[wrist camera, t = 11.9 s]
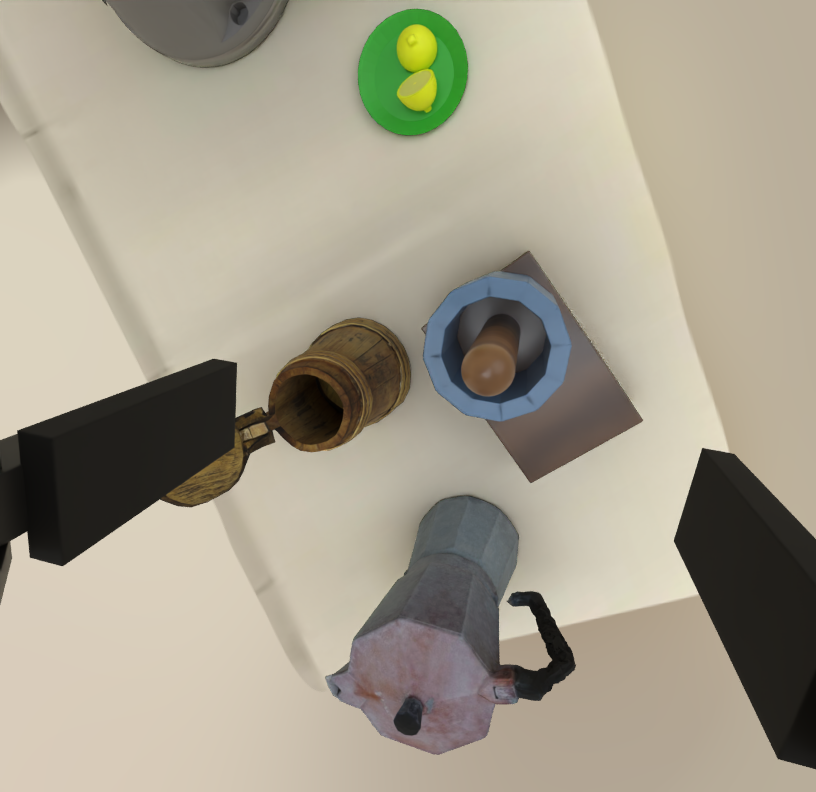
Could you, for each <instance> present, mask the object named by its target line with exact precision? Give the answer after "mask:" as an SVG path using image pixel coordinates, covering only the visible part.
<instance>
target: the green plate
mask: <svg viewBox="0 0 816 792" xmlns="http://www.w3.org/2000/svg"><path fill="white" fill-rule="evenodd" d="M467 72H468V63H467V55H466V51H465V48H464V45H463V42H462V39H461V38H460V36H459V34H458V32H457V31H456V29H455V28H454V27H453V26H452V25H451V24H450V23H449V21H447V20H446V19H444V18H443V17H442V16H440V15H438V14H436V13H434V12H431V11H428V10H422V9H410V10H404V11H401V12H398V13H395V14H394V15H392V16H390V17H388V18H387V19H385V20H384V21H383V22H382V23H381V24H380V25H378V26H377V27H376V29H375V30H374V31H373V32H372V34H371V35H370V36H369V38H368V40H367V42H366V44H365V46H364V48H363V51H362V54H361V57H360V61H359V67H358V85H359V90H360V95H361V98H362V101H363V103H364V106H365V107H366V109H367V111H368V112H369V114H370V115H371V117H372V118H373V119H374V120H375V121H376V122H377V123H378V124H379V125H381V126H382V127H384V128H385V129H387V130H389V131H391V132H394V133H396V134H402V135H418V134H422V133H426V132H428V131H430V130H432V129H434V128H436V127H438V126H439V125H440V124H442V123H443V122H444V121H446V120H447V118H448V117H449V116H450V115H451V114H452V113H453V112H454V110H455V109H456V107H457V105H458V104H459V102H460V100H461V98H462V95H463V93H464V90H465V86H466V81H467Z"/></svg>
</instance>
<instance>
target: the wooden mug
mask: <svg viewBox="0 0 816 792" xmlns="http://www.w3.org/2000/svg"><path fill="white" fill-rule="evenodd" d="M410 376H411V372H410V364H409V359H408V357H407V354H406V351H405V349H404V347H403V345H402V344H401V343H400V341H399V340H398V338H397V337H396V336H395V335H394V334H393V333H392V332H391V331H390V330H388V329H387V328H386V327H385V326H383V325H381V324H379V323H377V322H374V321H372V320H368V319H363V318H354V319H347V320H344V321H342V322H340V323H337V324H335V325H333V326H332V327H330V328H329V329H327V330H326V331H324V332H323V333H321V334H320V335H319V336H318V338H317V339H316V340H315V341H314V342H313V343H312V344H311V345H310V347H309V349H308V350H307V351H306V352H305V353H304V354H301V355H299V356H297V357H295V358H293V359H292V360H290V361H289V362H288V363H287V364H286V365H285V366H284V368H283V369H282V370H281V371H280V372H279V373H278V374H277V377H276V379H275V380H274V382H273V386H272V389H271V392H270V395H269V404H268V410H269V411H268V412H267V413H265V412H264V410H263V409H262V407H260V408H257V409H254V410H252V411H250V412H248V413H246V414H243V415H241V416H239V417H237V418H235V448H233V449H232V450H230V451H229V452H227V453H226V454H224V455H223V456H222V457H220V458H219V459H217V460H216V461H214V462H213V463H211V464H210V465H209V466H207V467H206V468H204V469H203V470H201V471H200V472H198V473H197V474H196V475H194V476H193V477H191V478H190V479H188V480H187V481H185V482H184V483H182V484H181V485H180V486H178V487H177V488H175V489H174V490H172V491H171V492H169V493H168V494H167V495H165V496H164V497H162V498H161V499H160V500H162V501H165V502H168V503H171V504H173V505H176V506H182V507H183V506H184V507H193V506H197V505H200V504H203V503H206V502H209V501H210V500H212V499H214V498H216V497H218V496H220V495H222V494H223V493H225V492H227V491H229V490H230V489H231V488H232V487H233V486H234V485H235V484H236V483H237V482H238V481H239V479H240V477H241V475H242V473H243V471H244V469H245V466H246V463H247V460H248V458H249V455H250V453H252V452H254V451H256V450H258V449H260V448H261V447H263V446H266V445H269V444H272V443H274V442H275V439H274V436H273V432H272V430H274V429H275V430H276V431H277V432H278V433H279V434H280V435H281V436H282V437H283V438H284V439H285V440H286V441H287V442H288V443H289V444H290V445H292V446H293V447H295V448H297V449H299V450H300V451H307V452H317V451H329V450H332V449H334V448H337V447H339V446H341V445H343V444H345V443H347V442H349V441H350V440H352V439H353V438H354V437H355V436H357V435H358V434H359V433H360V432H361V431H362V429H363V428H364V427H366V426H369V425H371V424H374V423H377V422H379V421H380V420H381V419H383V418H384V417H386V416H387V415H388V414H390V413H391V412H392V411H393V410H394V409H395V408H396V407H397V406H398V405H400V404H401V403H402V402H403V401H404V399H405V397H406V395H407V393H408V390H409V388H410Z"/></svg>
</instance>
